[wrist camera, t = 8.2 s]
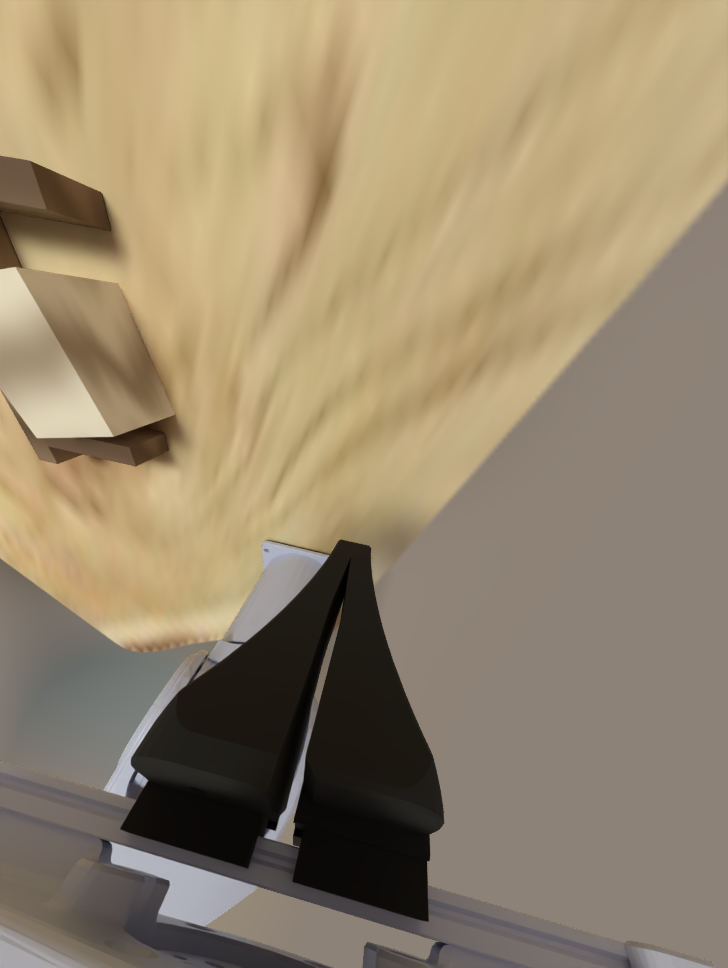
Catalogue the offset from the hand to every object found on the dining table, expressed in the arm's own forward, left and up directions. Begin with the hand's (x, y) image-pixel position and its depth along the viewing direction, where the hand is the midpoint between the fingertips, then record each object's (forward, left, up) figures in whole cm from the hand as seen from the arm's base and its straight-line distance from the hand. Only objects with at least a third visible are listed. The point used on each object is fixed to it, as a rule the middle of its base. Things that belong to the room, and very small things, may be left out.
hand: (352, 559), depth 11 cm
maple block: (+4, +20, -10) cm, 22 cm away
